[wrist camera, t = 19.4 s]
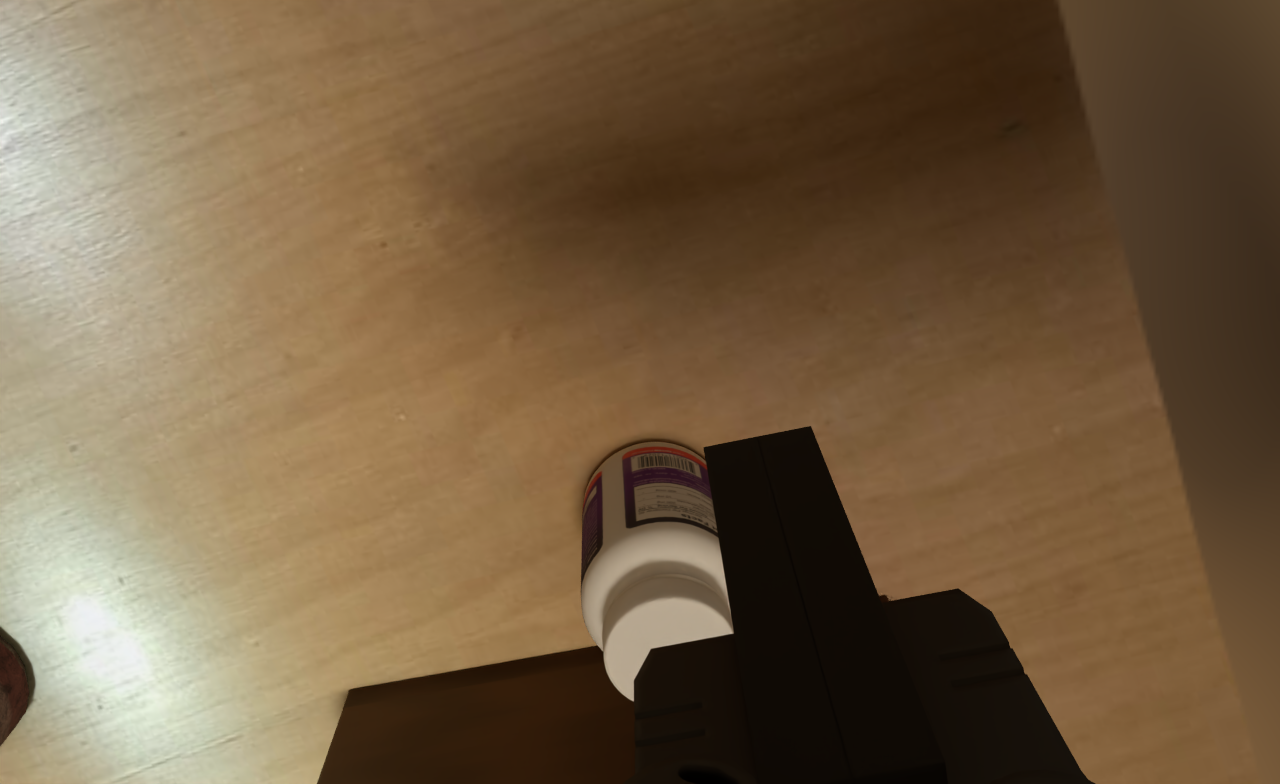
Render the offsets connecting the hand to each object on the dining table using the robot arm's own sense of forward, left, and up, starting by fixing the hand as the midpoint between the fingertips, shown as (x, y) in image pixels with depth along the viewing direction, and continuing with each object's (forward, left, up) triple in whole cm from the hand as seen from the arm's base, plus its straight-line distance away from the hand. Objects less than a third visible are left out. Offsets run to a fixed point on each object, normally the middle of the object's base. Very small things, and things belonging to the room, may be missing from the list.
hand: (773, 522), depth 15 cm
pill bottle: (+3, +11, -23) cm, 26 cm away
